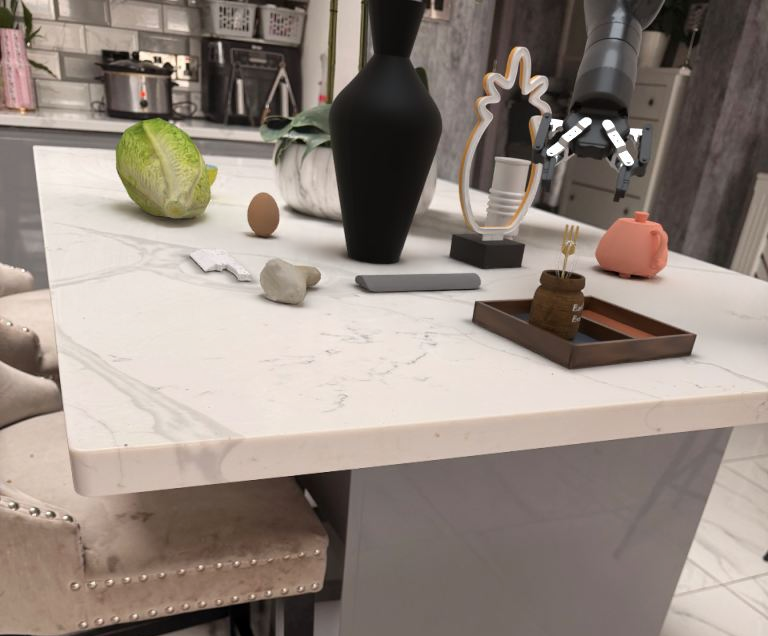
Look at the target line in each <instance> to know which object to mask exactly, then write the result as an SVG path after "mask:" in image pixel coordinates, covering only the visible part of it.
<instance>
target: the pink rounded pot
mask: <svg viewBox="0 0 768 636" xmlns="http://www.w3.org/2000/svg"><path fill="white" fill-rule="evenodd" d="M649 217H650V213H648V212H646V211H634V218H632V217H620V218H618V219H616V221H614V222H613V223H612V225H611V226H610V227H609V228H608V229H607V230H606V231H605V233H604V234H603V235H602V237H601V238H600V240H599V242H598V244H597V245H596V246H597V247H596V249H595V252H594V256H595V259H596V261H597V264H598V266H600V267H601V268H602V270H603V271H607V272H617V273H618V277H621V278H625V279H626V278H627V279H628V278H631V275H634V276H640V277H642V278H646V279H647V278H648V279H652V278H653V277H652V276H656V275H658V274H659V273H660V272H661V271H663V270H664V269H665V268H666V267H667V264H668V258H669V257H668V256H669V249H668V248H669V247H668V243H669V235H668V234H667V232H666V231H665V230H664V228H663V226H662V224H660V223H658V222H655V221H651V220H648V218H649Z"/></svg>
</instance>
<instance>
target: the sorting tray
mask: <svg viewBox="0 0 768 636" xmlns="http://www.w3.org/2000/svg"><path fill="white" fill-rule="evenodd" d="M532 301H533V297H531V298H529V297H528V298H511V299H508V298H507V299H489V300H475V301H474V304H473V311H472V317H471V322H472V323H474V324H476V325H478V326H480V327H482V328H485V329H487V330H488V331H490V332H492V333H494V334H496V335H499V336H501V337H502V338H505V339H507V340H509V341H511V342H513V343H515V344H517V345H519V346H521V347H523V348H526V349H528V350H530V351H532V352H534V353H536V354H537V355H540V356H543V357H544V358H547V359H549V360H551V361H553V362H555V363H556V364H559V365H560V366H563V367H565V368H567V369H569V370H573V369H574V370H575V369H582V368H592V367H598V366H599V367H602V366H609V365H619V364H627V363H634V362H635V363H637V362H644V361H654V360H662V359H671V358H680V357H689V356H690V357H691V355H692V352H693V349H694V346H695V343H696V339H697V336H698V334H697V333H695V332H692V331H688V330H685V329H683V328H680V327H678V326H675V325H672V324H671V323H670V324H669V323H667V322H664V321H661V320H659V319H656V318H653V317H651V316H648V315H645V314H643V313H640V312H637V311H634V310H632V309H629V308H626V307H624V306H621V305H618V304H616V303H613V302H610V301H607V300H605V299H602V298H600V297H597V296H594V295H592V294H591V295H590V294H589V295H584V305H583V310H582V315H581V319H580V323H579V328H578V331H577V334H576V336H575V337H574V338H573V339H571V340H565V339H563V338H561V337H559V336H556V335H554V334H552V333H550V332H547V331H545V330H543V329H541V328H538V327H536V326H534V325H532V324H529V323H528V322H529V316H530V311H531V306H532Z"/></svg>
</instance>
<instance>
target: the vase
mask: <svg viewBox="0 0 768 636" xmlns="http://www.w3.org/2000/svg"><path fill="white" fill-rule="evenodd" d="M366 2H367V11H368V18H369V25H370V34H371V42H372V43H371V44H372V49H373V50H372V51H373V54H372V56H371V57H370V59H368V61H367V62H366V63H365V64H364V66H363V67H362V68H361V69H360V70H359V72H358V73H357V74H356V75H355V76H354V77H353V79H351V80H350V82H348V83H347V84H346V85H345V87H344V88H343V89H341V91H339V92H338V94H337V95H336V97H335V98H334V99H333V101H332V103H331V105H330V108H329V111H328V120H327V121H328V129H329V138H330V139H329V140H330V147H331V153H332V160H333V166H334V173H335V174H334V175H335V180H336V186H337V194H338V201H339V209H340V214H341V220H342V227H343V233H344V241H345V248H346V254H347V257H348V258H349V259H352V260H355V261H358V262H362V263H368V264H377V265H379V264H380V265H391V264H396V263H399V262H400V258H401V255H402V252H403V250H404V247H405V244H406V241H407V238H408V236H409V232H410V230H411V227H412V224H413V221H414V218H415V215H416V211H417V209H418V206H419V203H420V200H421V198H422V194H423V191H424V188H425V185H426V184H427V183H426V182H427V179H428V177H429V175H430V171H431V168H432V165H433V162H434V160H435V156H436V153H437V151H438V147H439V144H440V140H441V137H442V134H443V118H442V113H441V111H440V109H439V107H438V105H437V103H436V102H435V100H434V98H433V97H432V95H431V94H430V92H429V91H428V90H427V88H426V86H425V84H424V83H423V81H422V79H421V77H420V76H419V74H418V72H417V70H416V68H415V66H414V64H413V63H412V60H411V58H410V57H411V55H412V52H413V50H414V47H415V43H416V40H417V37H418V33H419V30H420V27H421V24H422V21H423V18H424V14H425V11H426V8H427V3H426V2H424V1H419V0H366Z"/></svg>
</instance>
